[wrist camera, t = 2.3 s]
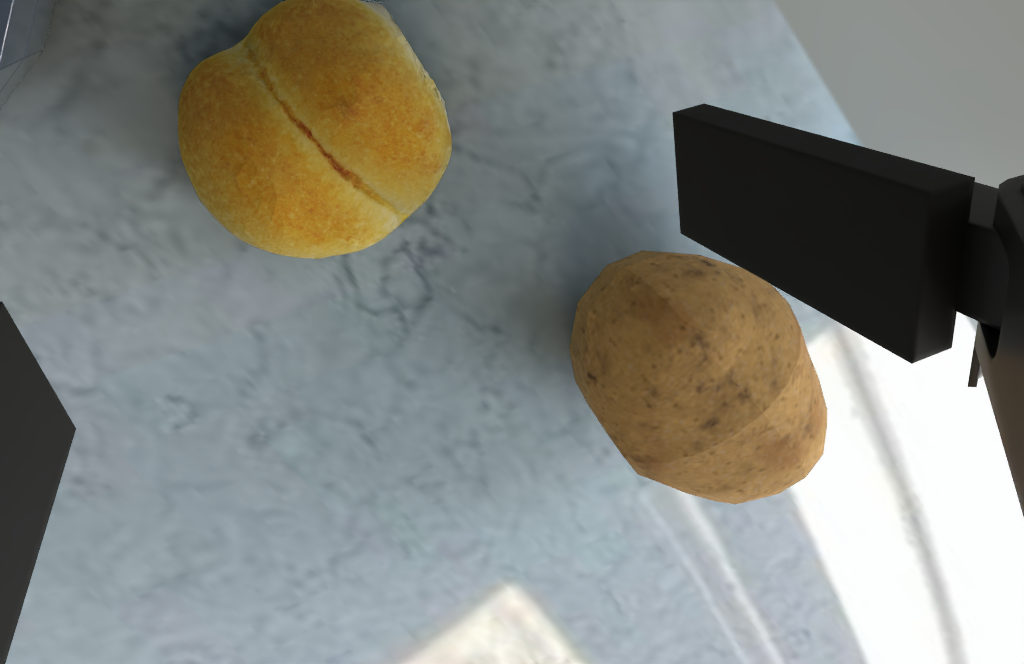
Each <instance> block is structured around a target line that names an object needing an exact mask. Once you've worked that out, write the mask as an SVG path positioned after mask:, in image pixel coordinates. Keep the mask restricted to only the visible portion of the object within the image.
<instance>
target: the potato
mask: <svg viewBox="0 0 1024 664" xmlns="http://www.w3.org/2000/svg"><path fill="white" fill-rule="evenodd" d="M569 350H570V355H571V360H572V365H573V371H574V376H575V381H576V383H577V385H578V387H579V389H580V390H581V392H582V394H583V396H584V398H585V400H586V401H587V403H588V405H589V407H590V408H591V410H592V411H593V413H594V414H595V416H596V417H597V419H598V420H599V422H600V423H601V425H602V426H603V428H604V429H605V431H606V432H607V434H608V435H609V437H610V438H611V439H612V441H613V442H614V444H615V445H616V447H617V448H618V449H619V451H620V452H621V454H622V455H623V456H624V458H625V459H626V460H627V461H628V463H629V464H630V465H631V466H632V468H633V469H634V470H635V471H636V473H637V474H639V475H641V476H644V477H647V478H649V479H652V480H655V481H657V482H660V483H662V484H665V485H667V486H670V487H672V488H675V489H677V490H680V491H682V492H685V493H688V494H692V495H695V496H699V497H702V498H706V499H709V500H713V501H718V502H724V503H731V504H738V503H743V502H747V501H751V500H756V499H760V498H764V497H768V496H771V495H775V494H778V493H780V492H782V491H784V490H785V489H787V488H789V487H790V486H792V485H794V484H795V483H797V482H799V481H800V480H802V479H804V478H805V477H806V476H807V475H808V473H809V472H810V471H811V469H812V468H813V467H814V465H815V464H816V463H817V461H818V460H819V459H820V457H821V456H822V455H823V450H824V443H825V436H826V428H827V407H826V404H825V400H824V396H823V393H822V389H821V385H820V382H819V379H818V376H817V373H816V371H815V368H814V366H813V363H812V361H811V358H810V356H809V353H808V350H807V347H806V344H805V341H804V337H803V334H802V331H801V328H800V326H799V324H798V321H797V319H796V317H795V315H794V313H793V311H792V309H791V307H790V305H789V303H788V302H787V301H786V300H785V299H784V298H783V297H782V295H781V294H780V293H779V292H778V291H777V290H776V289H775V288H774V287H773V286H772V285H770V284H769V283H768V282H766V281H765V280H763V279H761V278H759V277H758V276H756V275H754V274H752V273H750V272H749V271H747V270H745V269H743V268H740V267H737V266H734V265H730V264H727V263H724V262H721V261H717V260H714V259H711V258H707V257H704V256H701V255H692V254H680V253H667V252H654V251H640V252H637V253H635V254H633V255H630V256H628V257H625V258H623V259H621V260H618V261H616V262H613V263H611V264H609V265H606V267H605V268H604V269H603V271H602V272H601V273H600V274H599V276H598V277H597V278H596V280H595V281H594V282H593V283H592V285H591V286H590V287H589V289H588V290H587V291H586V292H585V294H584V295H583V296H582V298H581V299H580V300H579V302H578V304H577V310H576V315H575V321H574V326H573V331H572V337H571V342H570V347H569Z"/></svg>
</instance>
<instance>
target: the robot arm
mask: <svg viewBox="0 0 1024 664" xmlns="http://www.w3.org/2000/svg"><path fill="white" fill-rule="evenodd" d="M673 126H674V141H675V156H676V171H677V186H678V200H679V215H680V230H681V234H683V235H685V236H687V237H688V238H690V239H692V240H694V241H696V242H697V243H699V244H701V245H703V246H704V247H706V248H708V249H710V250H711V251H713V252H715V253H717V254H719V255H720V256H722V257H724V258H726V259H727V260H729V261H731V262H733V263H735V264H736V265H738V266H740V267H742V268H743V269H745V270H747V271H749V272H750V273H752V274H754V275H756V276H758V277H759V278H761V279H763V280H765V281H766V282H768V283H770V284H772V285H773V286H775V287H777V288H779V289H781V290H782V291H784V292H786V293H788V294H789V295H791V296H793V297H795V298H797V299H798V300H800V301H802V302H804V303H805V304H807V305H809V306H811V307H812V308H814V309H816V310H818V311H820V312H821V313H823V314H825V315H827V316H828V317H830V318H832V319H834V320H836V321H837V322H839V323H841V324H843V325H844V326H846V327H848V328H850V329H851V330H853V331H855V332H857V333H859V334H860V335H862V336H864V337H866V338H867V339H869V340H871V341H873V342H874V343H876V344H878V345H880V346H882V347H883V348H885V349H887V350H889V351H890V352H892V353H894V354H896V355H898V356H899V357H901V358H903V359H905V360H906V361H908V362H910V363H914V362H917V361H919V360H922V359H924V358H927V357H929V356H932V355H934V354H937V353H939V352H942V351H944V350H947V349H949V348H952V341H953V333H954V326H955V319H956V312H960V313H962V314H964V315H966V316H968V317H970V318H973V319H975V320H977V321H978V325H977V331H976V337H975V344H974V350H973V356H972V363H971V369H970V376H969V382H968V387H976V386H977V381H978V379H979V378H980V377H982V376H983V377H984V380H985V384H986V387H987V391H988V394H989V398H990V401H991V405H992V408H993V412H994V415H995V419H996V422H997V426H998V429H999V432H1000V436H1001V439H1002V443H1003V446H1004V450H1005V453H1006V457H1007V460H1008V464H1009V467H1010V471H1011V474H1012V478H1013V481H1014V485H1015V488H1016V492H1017V495H1018V498H1019V502H1020V505H1021V509H1022V512H1023V516H1024V175H1022V176H1018V177H1015V178H1010V179H1008V180H1006V181H1005V182H1003V183H1001V184H1000V185H999V189H997V188H994V187H991V186H987V185H983V184H980V183H976V182H974V181H975V177H971V176H967V175H964V174H959V173H956V172H952V171H949V170H945V169H942V168H938V167H934V166H930V165H927V164H923V163H920V162H916V161H912V160H909V159H905V158H901V157H898V156H894V155H890V154H887V153H883V152H879V151H876V150H872V149H868V148H865V147H861V146H857V145H854V144H850V143H846V142H843V141H839V140H836V139H832V138H828V137H825V136H821V135H817V134H814V133H810V132H806V131H803V130H799V129H795V128H792V127H788V126H784V125H781V124H777V123H773V122H770V121H766V120H762V119H759V118H755V117H751V116H748V115H744V114H740V113H737V112H733V111H729V110H726V109H722V108H718V107H715V106H711V105H707V104H701V105H698V106H694V107H690V108H687V109H683V110H680V111H676V112H673ZM75 430H76V428H75V426H74V424H73V423H72V421H71V419H70V417H69V416H68V414H67V412H66V411H65V409H64V407H63V405H62V404H61V402H60V400H59V399H58V397H57V395H56V393H55V392H54V390H53V388H52V387H51V385H50V383H49V381H48V380H47V378H46V376H45V374H44V373H43V371H42V369H41V368H40V366H39V364H38V362H37V361H36V359H35V357H34V356H33V354H32V352H31V350H30V349H29V347H28V345H27V344H26V342H25V340H24V338H23V337H22V335H21V333H20V331H19V330H18V328H17V326H16V325H15V323H14V321H13V319H12V318H11V316H10V314H9V313H8V311H7V309H6V307H5V306H4V304H3V302H0V664H5V662H6V659H7V656H8V652H9V649H10V646H11V642H12V639H13V636H14V632H15V629H16V626H17V623H18V619H19V616H20V613H21V609H22V606H23V603H24V599H25V596H26V593H27V589H28V586H29V583H30V579H31V576H32V573H33V569H34V566H35V563H36V560H37V556H38V553H39V550H40V546H41V543H42V540H43V536H44V533H45V530H46V526H47V523H48V520H49V516H50V513H51V510H52V506H53V503H54V500H55V496H56V493H57V490H58V487H59V483H60V480H61V477H62V473H63V470H64V467H65V463H66V460H67V457H68V453H69V450H70V447H71V443H72V440H73V437H74V433H75Z"/></svg>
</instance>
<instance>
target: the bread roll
mask: <svg viewBox="0 0 1024 664" xmlns="http://www.w3.org/2000/svg"><path fill="white" fill-rule="evenodd" d="M445 107H446V103H445V101H444V100H443V98H442V97H441V95H440V92H439V90H438V88H437V87H436V85H435V83H434V81H433V80H432V79H431V78H430V77H429V74H428V72H427V71H426V70H425V69H424V68H423V65H422V64H421V62H420V61H419V59H418V58H417V56H416V55H415V53H414V52H413V50H412V48H411V46H410V44H409V43H408V42H407V40H406V39H405V37H404V35H403V34H402V32H401V30H400V29H399V27H398V26H397V25H396V23H395V22H394V20H393V19H392V17H391V15H390V13H389V12H388V11H387V10H386V9H385V8H384V6H382V5H380V4H376V3H369V2H363V1H360V0H286V1H283V2H281V3H278V4H277V5H276V6H274V7H273V8H272V9H270V10H269V11H268V12H266V13H265V14H264V15H262V17H261V18H260V19H259V20H258V21H257V22H256V23H255V24H254V26H253V27H252V28H251V30H250V32H249V33H248V35H247V36H246V37H245V38H244V39H242V40H241V41H240V42H239V43H238V44H236V45H235V46H233V47H232V48H230V49H227V50H224V51H222V52H219V53H217V54H215V55H213V56H211V57H209V58H207V59H205V60H203V61H201V62H200V63H199V64H198V65H197V66H196V67H195V68H194V69H193V70H192V71H191V72H190V74H189V76H188V78H187V80H186V82H185V84H184V86H183V88H182V91H181V94H180V98H179V107H178V140H179V147H180V153H181V158H182V160H183V163H184V166H185V168H186V171H187V174H188V176H189V178H190V181H191V183H192V185H193V187H194V189H195V191H196V193H197V195H198V197H199V199H200V201H201V202H202V204H203V205H204V206H205V207H206V208H207V210H208V211H209V212H210V213H211V214H212V216H213V217H214V218H215V219H216V220H217V221H219V222H220V223H221V224H222V225H223V226H224V227H225V228H226V229H227V230H228V231H229V232H230V233H232V234H233V235H234V236H235V237H237V238H238V239H240V240H242V241H244V242H246V243H248V244H250V245H252V246H254V247H257V248H260V249H262V250H266V251H269V252H272V253H274V254H279V255H284V256H290V257H298V258H315V259H319V258H325V257H329V256H335V255H342V254H348V253H353V252H357V251H360V250H363V249H365V248H367V247H369V246H371V245H373V244H375V243H377V242H379V241H380V240H382V239H384V238H385V237H386V236H387V235H388V234H390V233H391V232H392V231H393V230H395V229H396V228H397V227H398V226H399V225H400V224H401V223H402V222H403V221H404V220H405V219H406V218H407V217H409V216H410V215H411V214H412V213H413V212H414V211H416V210H417V209H418V208H419V207H420V206H421V205H422V204H423V203H424V202H425V201H426V200H427V199H428V198H429V196H430V195H431V194H432V192H433V191H434V189H435V188H436V186H437V185H438V183H439V181H440V179H441V178H442V176H443V174H444V172H445V170H446V168H447V166H448V163H449V160H450V157H451V151H452V141H451V133H450V126H449V123H448V119H447V112H446V109H445Z"/></svg>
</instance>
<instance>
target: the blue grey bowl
mask: <svg viewBox="0 0 1024 664" xmlns="http://www.w3.org/2000/svg"><path fill="white" fill-rule="evenodd" d="M55 3H56V0H0V110H1V108H2V107H3V106H4V104H5V103H6V101H7V100H8V99H9V97H10V96H11V95H12V93H13V92H14V90H15V89H16V88H17V86H18V85H19V83H20V82H21V81H22V79H23V78H24V77H25V75H26V74H27V72H28V71H29V70H30V68H31V67H32V65H33V64H34V63H35V61H36V60H37V59H38V57H39V56H40V54H41V53H42V52H43V49H44V48H45V45H46V40H47V36H48V32H49V28H50V24H51V20H52V15H53V11H54V7H55Z"/></svg>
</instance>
